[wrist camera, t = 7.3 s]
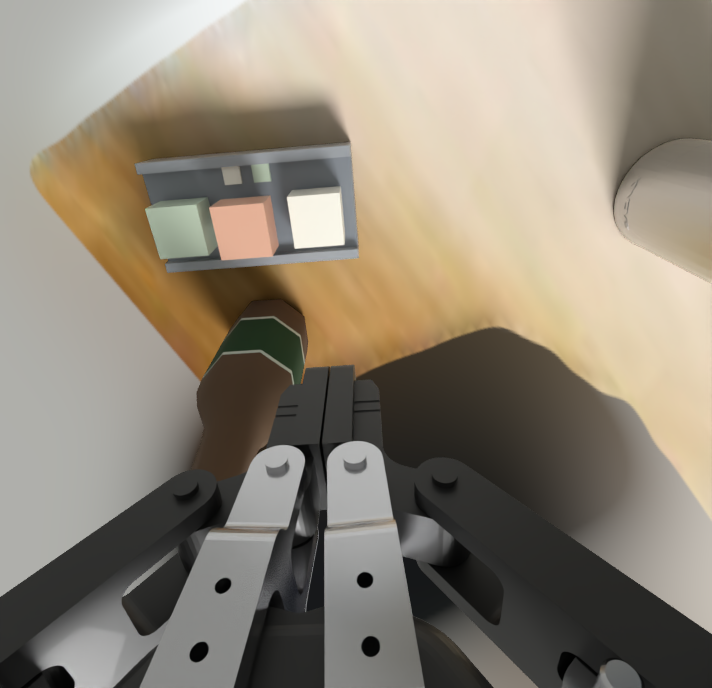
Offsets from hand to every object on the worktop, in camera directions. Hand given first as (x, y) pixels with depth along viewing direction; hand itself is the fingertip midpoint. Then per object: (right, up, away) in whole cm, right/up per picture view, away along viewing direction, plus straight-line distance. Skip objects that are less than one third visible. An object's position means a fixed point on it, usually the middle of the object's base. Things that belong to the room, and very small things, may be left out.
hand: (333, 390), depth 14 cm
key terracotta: (-8, +11, +21) cm, 25 cm away
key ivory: (-2, +12, +23) cm, 26 cm away
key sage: (-13, +12, +23) cm, 29 cm away
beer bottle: (-8, +3, +31) cm, 33 cm away
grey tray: (-8, +14, +25) cm, 30 cm away
